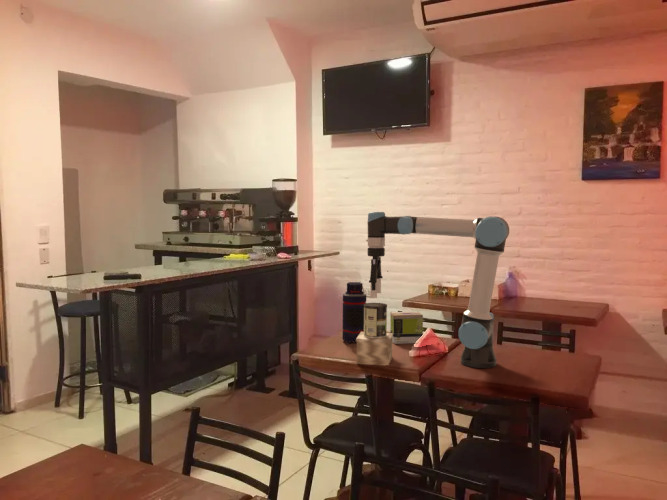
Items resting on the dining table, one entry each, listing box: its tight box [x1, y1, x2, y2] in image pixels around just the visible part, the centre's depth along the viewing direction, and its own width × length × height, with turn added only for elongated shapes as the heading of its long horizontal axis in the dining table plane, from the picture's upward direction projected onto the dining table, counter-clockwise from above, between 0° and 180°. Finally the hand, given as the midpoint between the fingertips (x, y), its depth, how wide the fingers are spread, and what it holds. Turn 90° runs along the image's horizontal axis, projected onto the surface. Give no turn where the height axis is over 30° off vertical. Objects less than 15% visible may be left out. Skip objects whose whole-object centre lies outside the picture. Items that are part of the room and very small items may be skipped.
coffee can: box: [364, 302, 388, 338], centre depth 249 cm, size 10×10×14 cm
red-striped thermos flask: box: [341, 281, 367, 344], centre depth 286 cm, size 14×12×30 cm
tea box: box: [389, 311, 424, 345], centre depth 286 cm, size 15×10×15 cm, turn 94°
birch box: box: [356, 332, 393, 366], centre depth 250 cm, size 15×15×11 cm
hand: (375, 295), depth 248 cm, fingers open, 13 cm apart
